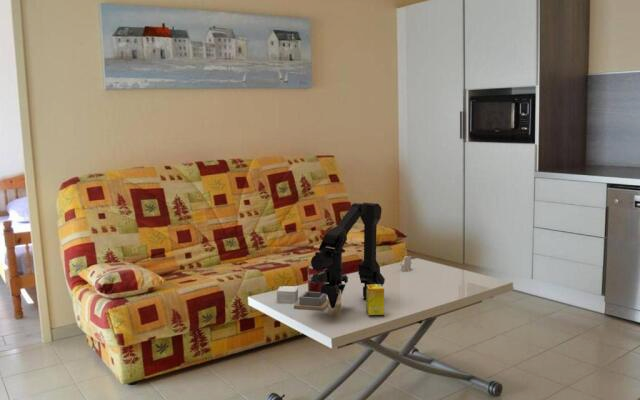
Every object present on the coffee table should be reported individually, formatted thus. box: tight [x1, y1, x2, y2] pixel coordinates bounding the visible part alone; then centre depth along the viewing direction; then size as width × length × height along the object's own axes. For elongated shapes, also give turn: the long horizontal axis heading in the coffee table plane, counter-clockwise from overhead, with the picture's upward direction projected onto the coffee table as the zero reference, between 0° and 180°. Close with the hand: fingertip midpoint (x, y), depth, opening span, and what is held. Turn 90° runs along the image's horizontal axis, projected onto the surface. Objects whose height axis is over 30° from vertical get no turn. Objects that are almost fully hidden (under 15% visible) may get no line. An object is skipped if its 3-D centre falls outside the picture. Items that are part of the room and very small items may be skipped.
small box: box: [276, 285, 299, 304], centre depth 244 cm, size 8×8×5 cm
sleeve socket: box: [293, 290, 328, 312], centre depth 237 cm, size 12×12×4 cm
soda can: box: [307, 264, 325, 292], centre depth 251 cm, size 7×7×12 cm
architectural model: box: [398, 255, 413, 273], centre depth 291 cm, size 3×7×7 cm, turn 138°
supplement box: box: [365, 284, 385, 318], centre depth 224 cm, size 6×6×11 cm
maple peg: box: [327, 289, 342, 317], centre depth 226 cm, size 5×5×9 cm
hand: (334, 305), depth 226 cm, fingers closed on maple peg, 5 cm apart
